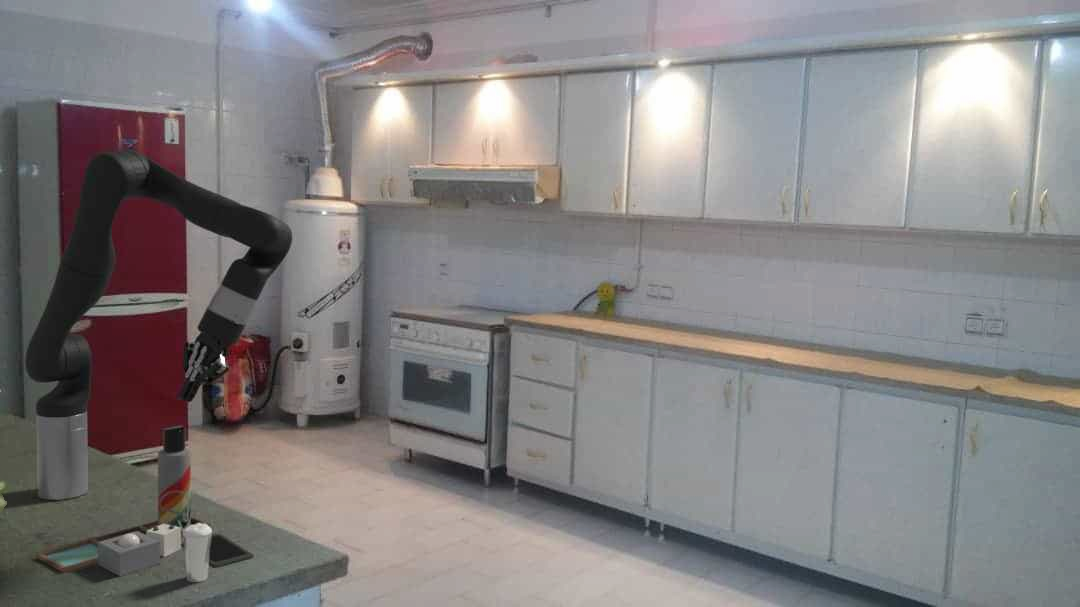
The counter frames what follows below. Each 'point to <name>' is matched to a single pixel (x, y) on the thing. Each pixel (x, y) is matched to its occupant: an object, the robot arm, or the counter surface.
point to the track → (90, 549)
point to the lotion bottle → (174, 479)
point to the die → (166, 538)
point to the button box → (128, 554)
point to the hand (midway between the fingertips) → (184, 399)
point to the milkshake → (197, 551)
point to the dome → (128, 540)
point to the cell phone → (225, 551)
